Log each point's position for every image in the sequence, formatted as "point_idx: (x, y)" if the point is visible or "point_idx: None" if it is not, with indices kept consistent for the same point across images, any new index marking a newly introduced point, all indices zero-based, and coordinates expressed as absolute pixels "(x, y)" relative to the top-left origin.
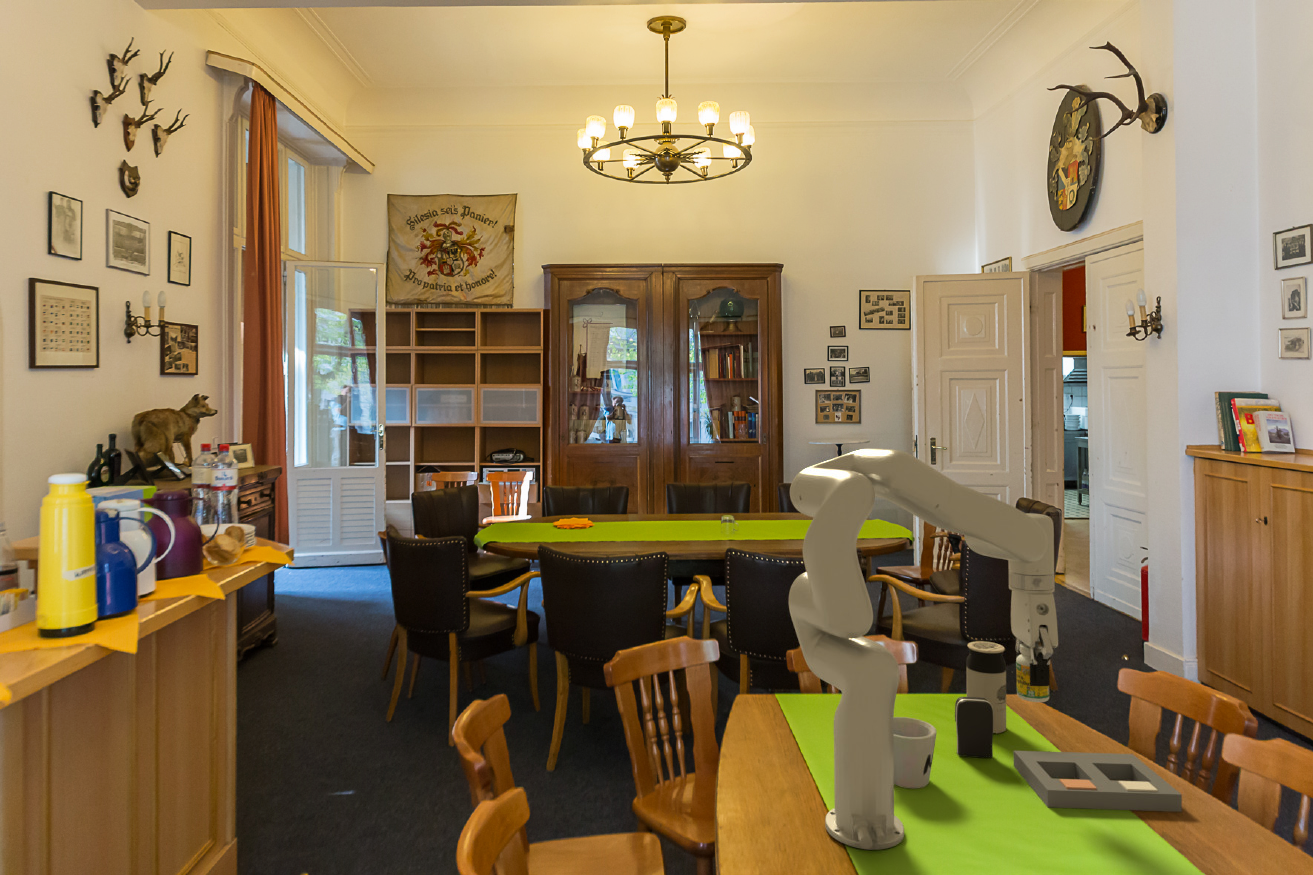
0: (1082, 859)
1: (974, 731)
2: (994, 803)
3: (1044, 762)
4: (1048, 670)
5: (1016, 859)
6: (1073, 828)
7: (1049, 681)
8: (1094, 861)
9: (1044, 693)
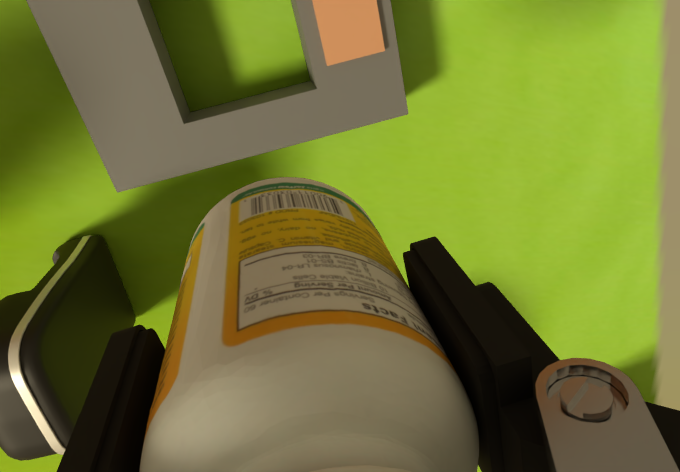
0: (641, 57)
1: (100, 330)
2: (405, 232)
3: (172, 93)
4: (489, 313)
5: (642, 198)
6: (500, 51)
7: (444, 248)
8: (649, 29)
9: (374, 230)
